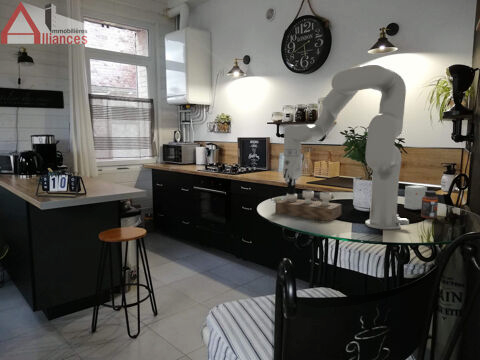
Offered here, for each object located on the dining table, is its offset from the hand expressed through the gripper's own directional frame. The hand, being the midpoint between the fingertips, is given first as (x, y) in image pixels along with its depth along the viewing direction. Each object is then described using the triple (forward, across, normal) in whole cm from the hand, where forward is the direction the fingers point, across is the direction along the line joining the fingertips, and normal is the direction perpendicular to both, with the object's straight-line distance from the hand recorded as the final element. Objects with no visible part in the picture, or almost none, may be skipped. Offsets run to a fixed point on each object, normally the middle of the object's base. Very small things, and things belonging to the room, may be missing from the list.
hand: (291, 193), depth 158 cm
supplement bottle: (+8, +23, -53) cm, 59 cm away
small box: (+8, +41, -45) cm, 62 cm away
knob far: (+7, 0, 0) cm, 7 cm away
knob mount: (+8, 0, -8) cm, 12 cm away
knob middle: (+5, 0, -8) cm, 9 cm away
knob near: (+5, 0, -16) cm, 17 cm away
